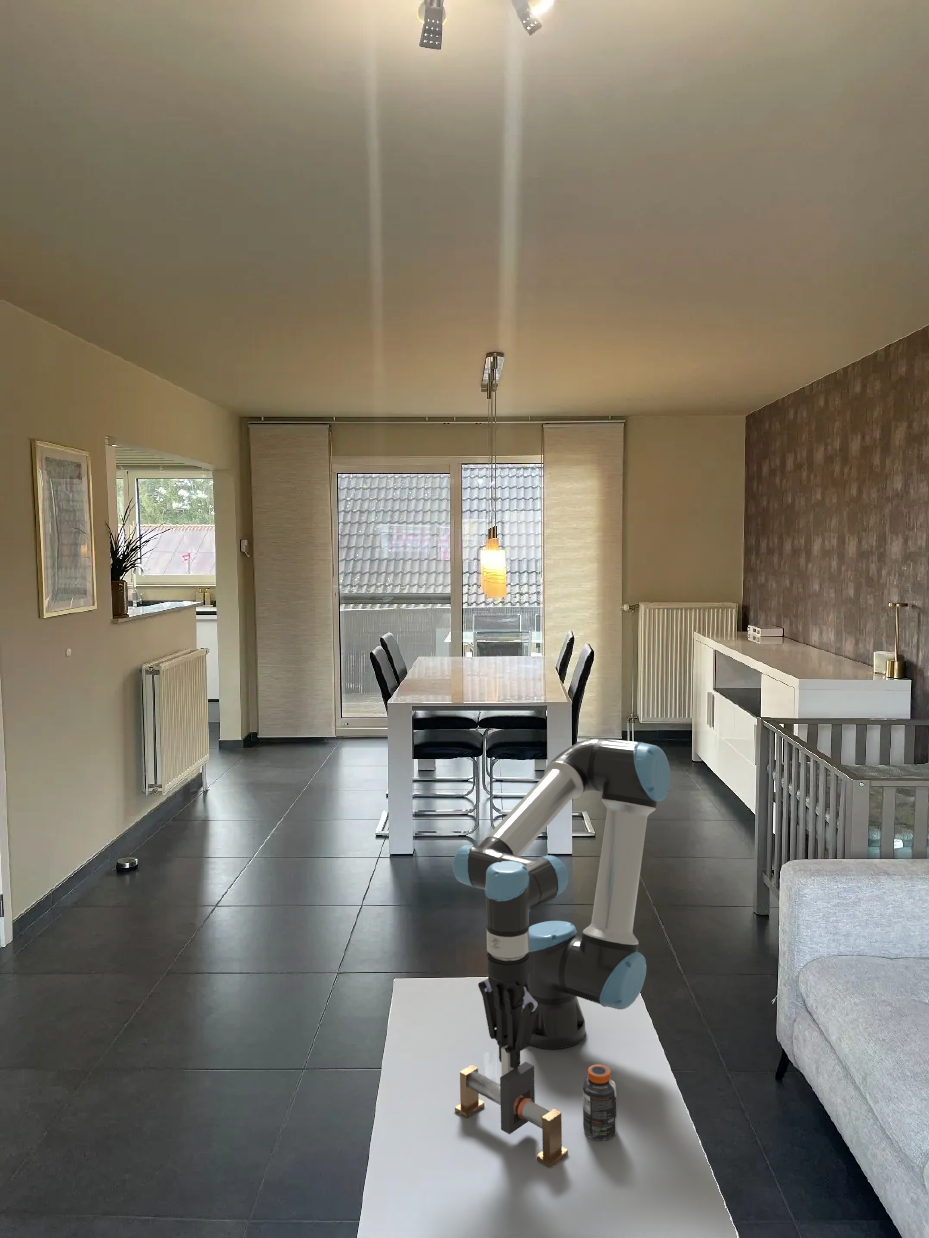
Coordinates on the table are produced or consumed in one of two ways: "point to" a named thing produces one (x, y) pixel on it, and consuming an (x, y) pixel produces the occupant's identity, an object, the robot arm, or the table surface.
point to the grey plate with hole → (515, 1094)
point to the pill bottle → (599, 1104)
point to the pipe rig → (523, 1109)
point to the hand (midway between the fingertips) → (509, 1081)
